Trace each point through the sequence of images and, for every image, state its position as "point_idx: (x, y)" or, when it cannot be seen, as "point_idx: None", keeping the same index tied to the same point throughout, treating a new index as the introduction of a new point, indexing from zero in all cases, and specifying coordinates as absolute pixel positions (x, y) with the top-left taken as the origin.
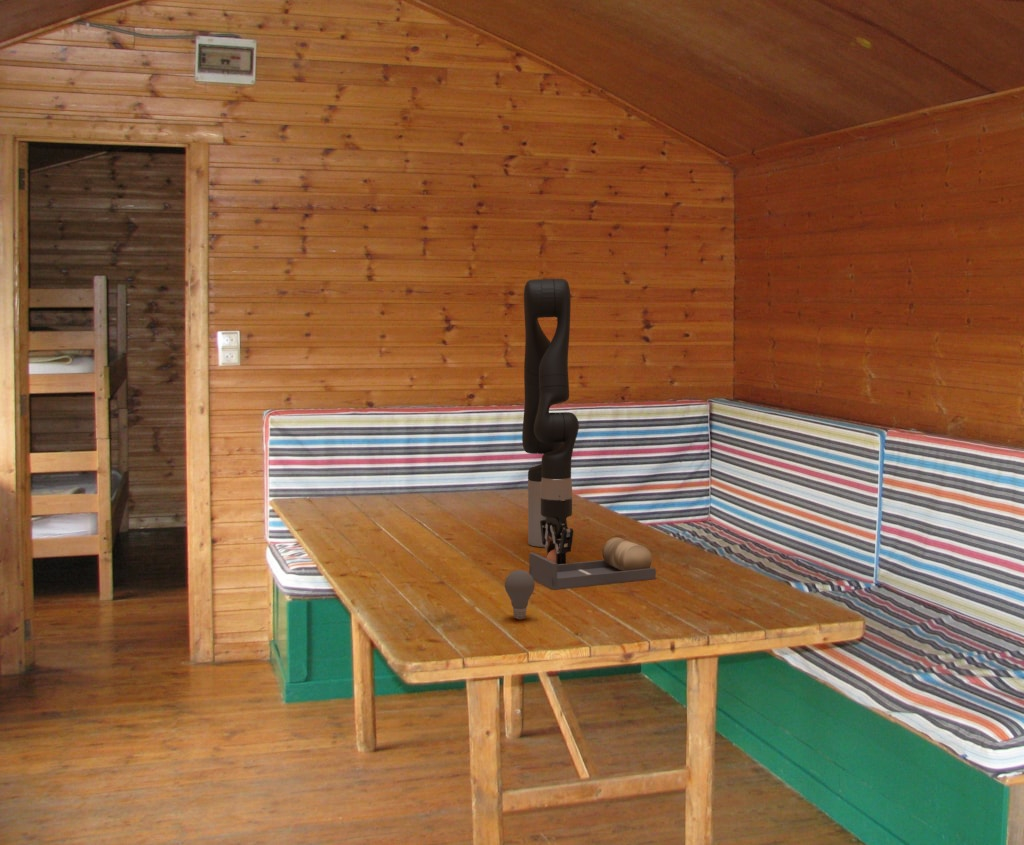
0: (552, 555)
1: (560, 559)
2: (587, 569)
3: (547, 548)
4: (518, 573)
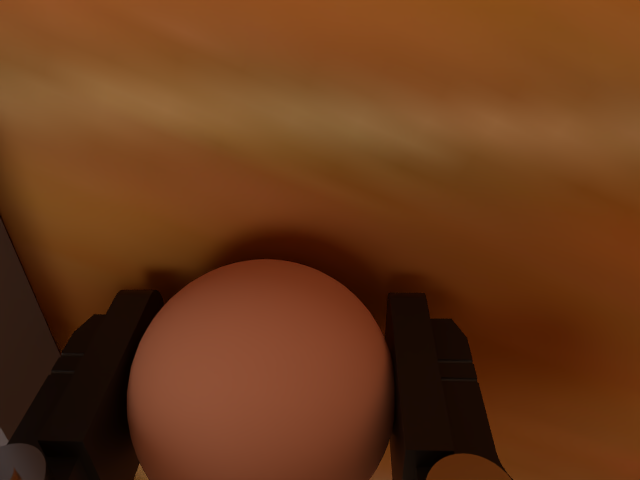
0: (164, 386)
1: (37, 393)
2: None
3: (435, 468)
4: None
